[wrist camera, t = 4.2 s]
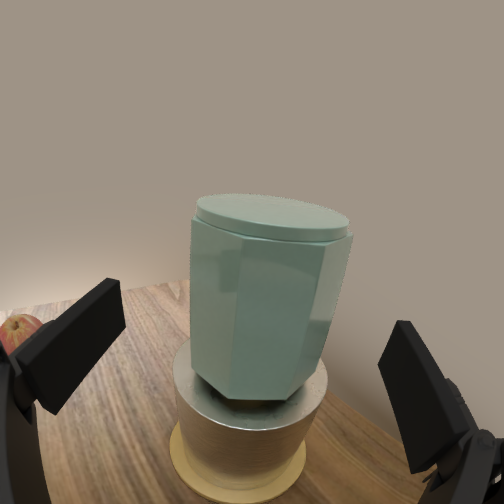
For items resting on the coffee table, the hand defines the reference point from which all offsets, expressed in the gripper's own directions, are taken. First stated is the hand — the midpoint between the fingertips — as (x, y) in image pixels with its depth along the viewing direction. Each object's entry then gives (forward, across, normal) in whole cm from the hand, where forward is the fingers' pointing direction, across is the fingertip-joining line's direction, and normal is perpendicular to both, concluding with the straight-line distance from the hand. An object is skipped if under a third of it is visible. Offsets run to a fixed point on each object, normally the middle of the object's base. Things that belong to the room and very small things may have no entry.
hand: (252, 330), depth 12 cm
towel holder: (+4, 0, -20) cm, 20 cm away
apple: (+5, -30, -20) cm, 36 cm away
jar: (+4, 0, -5) cm, 7 cm away
